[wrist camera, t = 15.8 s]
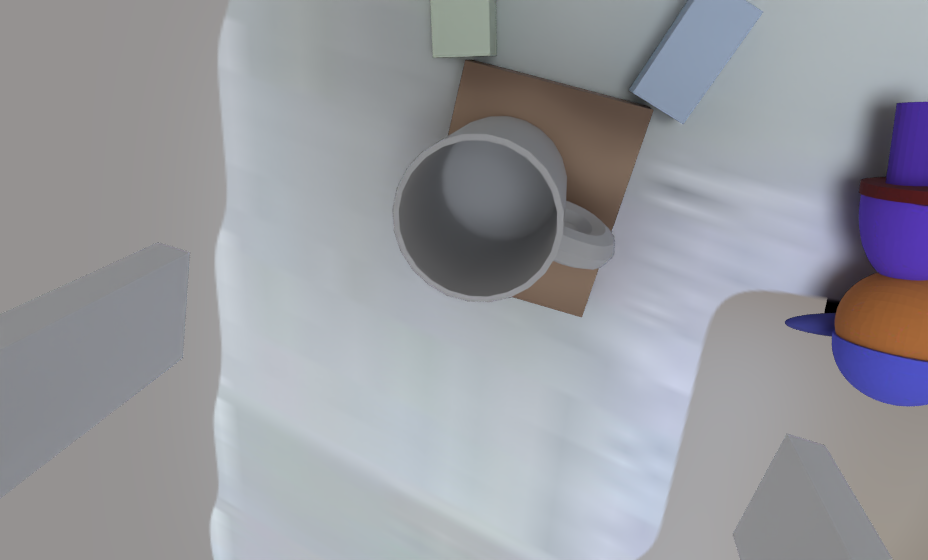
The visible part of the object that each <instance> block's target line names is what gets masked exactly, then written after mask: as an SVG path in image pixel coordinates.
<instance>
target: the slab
mask: <svg viewBox="0 0 928 560" xmlns="http://www.w3.org/2000/svg"><path fill="white" fill-rule="evenodd" d="M652 113H653V109H651V108H650V107H649V106H645V105H641V104H638V103H634V102H630V101H626V100H623V99H619V98H615V97H611V96H607V95H604V94H600V93H596V92H592V91H588V90H585V89H581V88H577V87H573V86H570V85H566V84H562V83H558V82H554V81H551V80H547V79H543V78H539V77H536V76H532V75H528V74H524V73H520V72H517V71H513V70H509V69H505V68H501V67H498V66H494V65H490V64H486V63H483V62H479V61H475V60H465V63H464V68H463V72H462V76H461V81H460V85H459V89H458V94H457V98H456V103H455V107H454V111H453V116H452V120H451V125H450V129H449V133H448V136H449V135H450V134H452V133H454V132H455V131H457V130H459V129H460V128H462V127H464V126H465V125H467V124H469V123H470V122H473V121H476V120H479V119H483V118H486V117H490V116H510V117H514V118H518V119H522V120H525V121H527V122H529V123H531V124H532V125H534V126H536V127H538V128H539V129H541V130H542V131H543V132H544V133H545V134H546V135H547V136H548V137H549V138H550V139H551V140H552V141H553V142H554V144H555V146H556V148H557V149H558V151H559V153H560V155H561V157H562V159H563V163H564V167H565V171H566V175H567V190H566V201H569V202H571V203H573V204H576V205H578V206H580V207H582V208H584V209H586V210H587V211H589V212H591V213H592V214H594V215H595V216H596V217H597V218H598V219H600V220H601V221H602V222H603V223H604V224H605V225H606V226H607V227H608V228H609V229H610V231H612V228H613V226H614V223H615V220H616V217H617V214H618V211H619V208H620V205H621V202H622V200H623V197H624V194H625V191H626V188H627V185H628V182H629V179H630V176H631V174H632V171H633V168H634V165H635V162H636V159H637V156H638V153H639V150H640V148H641V145H642V142H643V139H644V136H645V133H646V130H647V127H648V124H649V122H650V119H651V116H652ZM598 269H599V268H597V269H594V270H592V269H582V268H573V267H569V266H566V265H562V264H560V263H557V262H555V261H553V262H552V263H551V265H550V266H549V268H548V270H547V271H546V273H545V274H544V275H543V276H542V277H541V278H539V279H538V280H537V281H536V282H535V283H534V284H533V285H532V286H531V287H529V288H528V289H526V290H524V291H522V292H520V293H518V294H516V295H514V296H512V297H514V298H517V299H521V300H524V301H528V302H531V303H535V304H538V305H541V306H545V307H548V308H552V309H555V310H558V311H562V312H565V313H569V314H572V315H575V316H579V317H582V315H583V312H584V309H585V306H586V304H587V301H588V298H589V295H590V292H591V289H592V286H593V283H594V280H595V278H596V275H597V272H598Z"/></svg>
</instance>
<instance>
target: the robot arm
mask: <svg viewBox="0 0 928 560" xmlns="http://www.w3.org/2000/svg"><path fill="white" fill-rule="evenodd" d="M189 258H190V252H189V251H185V250H182V249H179V248H175V247H172V246H169V245H166V244H162V243H159V242H157V243H155V244H153V245H151V246H149V247H147V248H144V249H142V250H140V251H138V252H136V253H133V254H131V255H129V256H127V257H125V258H123V259H120V260H118V261H116V262H114V263H111V264H109V265H107V266H105V267H103V268H101V269H98V270H96V271H94V272H92V273H90V274H87V275H85V276H83V277H81V278H79V279H76V280H74V281H72V282H70V283H68V284H65V285H63V286H61V287H59V288H57V289H54V290H52V291H51V292H48V293H46V294H44V295H41V296H39V297H37V298H35V299H33V300H31V301H28V302H26V303H24V304H22V305H19V306H17V307H15V308H13V309H11V310H8V311H6V312H4V313H2V314H0V498H2V497H3V496H4V495H6V494H7V493H8V492H9V491H10V490H12V489H13V488H15V487H16V486H17V485H19V484H20V483H21V482H22V481H24V480H25V479H26V478H27V477H29V476H30V475H31V474H33V473H34V472H35V471H37V470H38V469H39V468H41V467H42V466H43V465H45V464H46V463H47V462H48V461H50V460H51V459H52V458H54V457H55V456H56V455H58V454H59V453H60V452H61V451H63V450H64V449H65V448H67V447H68V446H69V445H71V444H72V443H73V442H74V441H76V440H77V439H78V438H80V437H81V436H82V435H83V434H85V433H86V432H87V431H88V430H90V429H91V428H93V427H94V426H95V425H96V424H98V423H99V422H100V421H102V420H103V419H104V418H106V417H107V416H108V415H109V414H111V413H112V412H113V411H115V410H116V409H117V408H119V407H120V406H121V405H122V404H123V403H125V402H126V401H128V400H129V399H130V398H132V397H133V396H134V395H135V394H137V393H138V392H139V391H141V390H142V389H143V388H145V387H146V386H147V385H148V384H150V383H151V382H152V381H154V380H155V379H156V378H158V377H159V376H160V375H161V374H163V373H164V372H165V371H166V370H168V369H169V368H171V367H172V366H173V365H174V364H176V363H177V362H178V361H179V360H181V359H182V358H183V348H184V333H185V319H186V304H187V288H188V273H189ZM733 537H734V540H735V544H736V547H737V550H738V554H739V557H740V560H893V559H892V557H891V556H890V554H889V552H888V550H887V549H886V547H885V545H884V544H883V542H882V540H881V538H880V537H879V535H878V534H877V532H876V530H875V528H874V527H873V525H872V523H871V522H870V520H869V518H868V517H867V515H866V513H865V512H864V510H863V508H862V506H861V505H860V503H859V502H858V500H857V498H856V496H855V495H854V493H853V491H852V490H851V488H850V486H849V485H848V483H847V481H846V480H845V478H844V476H843V474H842V473H841V471H840V469H839V468H838V466H837V464H836V463H835V461H834V459H833V458H832V456H831V454H830V453H829V451H828V449H827V448H826V446H825V445H823V444H820V443H817V442H813V441H810V440H807V439H804V438H800V437H797V436H794V435H790V434H786V436H785V438H784V440H783V442H782V444H781V445H780V447H779V449H778V451H777V453H776V455H775V456H774V459H773V460H772V462H771V464H770V466H769V468H768V469H767V471H766V473H765V475H764V477H763V479H762V481H761V482H760V484H759V486H758V488H757V490H756V492H755V494H754V495H753V497H752V499H751V501H750V503H749V505H748V507H747V509H746V511H745V512H744V514H743V516H742V518H741V520H740V521H739V523H738V525H737V527H736V529H735V531H734V533H733Z"/></svg>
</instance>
